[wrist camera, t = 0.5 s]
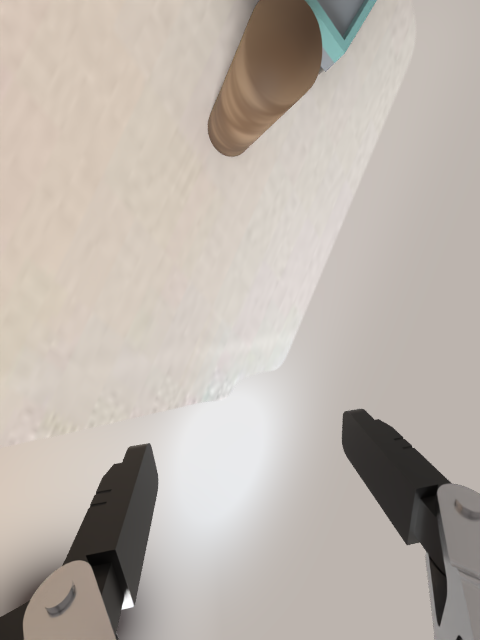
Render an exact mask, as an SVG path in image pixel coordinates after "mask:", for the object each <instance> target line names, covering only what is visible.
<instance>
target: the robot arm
mask: <svg viewBox="0 0 480 640" xmlns="http://www.w3.org/2000/svg"><path fill="white" fill-rule="evenodd" d="M342 426H343V427H342V445H343V449H344V452H345V454H346V456H347V458H348V459H349V461H350V462H351V463H352V465H353V467H354V468H355V469H356V471H357V473H358V474H359V475H360V477H361V478H362V480H363V481H364V483H365V484H366V486H367V487H368V489H369V490H370V492H371V493H372V494H373V496H374V497H375V499H376V500H377V502H378V503H379V505H380V506H381V508H382V509H383V511H384V512H385V514H386V515H387V517H388V518H389V519H390V521H391V522H392V524H393V525H394V527H395V528H396V530H397V531H398V533H399V534H400V536H401V537H402V539H403V540H404V542H405V543H406V544H407V545H410V544H415V543H419V542H420V543H421V544H422V546H423V547H424V549H425V550H426V555H425V556H426V557H425V558H426V567H427V576H428V585H429V593H430V602H431V611H432V619H433V628H434V640H480V494H479V493H477V492H476V491H474V490H472V489H469V488H467V487H465V486H462V485H458V484H452V483H451V482H449V481H448V480H447V479H446V478H445V477H444V476H443V475H442V474H441V473H440V472H439V471H438V470H437V469H436V468H435V467H434V466H432V465H431V463H429V462H428V461H427V460H426V459H425V458H424V457H423V456H422V455H421V454H420V453H419V452H418V451H417V450H416V449H415V448H412V445H411V444H410V443H408V442H407V441H406V440H405V439H403V437H402V436H401V435H400V434H399V433H398V432H397V431H396V430H395V429H394V428H393V427H391V426H389V425H388V424H386V423H384V422H382V421H381V420H379V419H378V420H374V419H373V418H372V417H371V416H370V415H369V414H368V413H367V412H366V411H365V410H364V409H357V410H351V411H345V412H344V413H343V425H342ZM157 491H158V473H157V469H156V465H155V460H154V456H153V451H152V447H151V445H150V444H149V443H148V444H142V445H136V446H130V447H129V448H128V450H127V452H126V454H125V457H124V459H123V462H122V463H118V464H114V465H113V466H112V467H111V468H110V470H109V471H108V472H107V473H106V474H105V475H104V476H103V478H102V480H101V482H100V484H99V487H98V489H97V491H96V495H95V496H94V498H93V500H92V502H91V504H90V508H89V509H88V511H87V513H86V515H85V518H84V520H83V522H82V524H81V526H80V529H79V531H78V533H77V535H76V537H75V540H74V542H73V544H72V546H71V548H70V551H69V553H68V555H67V558H66V560H65V561H64V563H63V565H62V567H60V568H59V569H57V570H56V571H54V572H53V573H52V574H51V575H50V576H49V577H48V578H47V579H46V580H45V581H44V582H43V583H42V584H41V585H40V587H39V588H38V589H37V591H36V592H35V593H34V595H33V597H32V598H31V600H30V601H28V602H27V603H25V604H23V605H22V606H20V607H18V608H16V609H14V610H13V611H11V612H9V613H7V614H6V615H4V616H2V617H0V640H119V638H118V635H117V633H116V631H117V627H118V622H119V617H120V614H121V610H122V609H126V608H130V607H134V606H135V601H136V596H137V591H138V586H139V581H140V576H141V571H142V566H143V561H144V556H145V551H146V546H147V541H148V536H149V531H150V526H151V521H152V516H153V511H154V506H155V501H156V496H157Z"/></svg>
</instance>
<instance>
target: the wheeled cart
mask: <svg viewBox="0 0 480 640" xmlns="http://www.w3.org/2000/svg"><path fill="white" fill-rule="evenodd" d="M305 1H306V2H307V3H308V5H309V6H310V7H311V9H312V11H313V12H314V14H315V16H316V18H317V21H318V24H319V27H320V31H321V37H322V61H321V66H320V70H319V73H318V74H320V73H321V72H322V71H323V70H324V71H325V72H326V71H327V70H328V69H329V68H330V67H331V66H332V65H333V64H334V63H335V62H336V61H337V60H338V59H339V58H340V57H341V56H342V55H343V54H344V53H345V52H346V50H347V49H348V47H349V45H350V44H351V42H352V40H353V39H354V37H355V35H356V34H357V32H358V30H359V29H360V27H361V26H362V24H363V22H364V21H365V19H366V17H367V16H368V14H369V12H370V11H371V9H372V7H373V6H374V4H375V2H376V1H377V0H305Z"/></svg>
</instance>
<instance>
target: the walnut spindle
mask: <svg viewBox="0 0 480 640" xmlns="http://www.w3.org/2000/svg"><path fill="white" fill-rule="evenodd" d="M321 61H322V37H321V31H320V27H319V24H318V21H317V18H316V16H315V14H314V12H313V11H312V9H311V7H310V6H309V5H308V3H307V2H306V1H305V0H260V1H259V2H258V3H257V5H256V7H255V8H254V10H253V12H252V15H251V17H250V19H249V22H248V24H247V27H246V29H245V32H244V34H243V36H242V39H241V41H240V44H239V46H238V49H237V51H236V53H235V56H234V58H233V61H232V63H231V66H230V68H229V70H228V73H227V75H226V78H225V80H224V83H223V85H222V87H221V90H220V92H219V95H218V97H217V100H216V102H215V104H214V107H213V109H212V112H211V114H210V117H209V120H208V134H209V137H210V140H211V142H212V144H213V146H214V147H215V148H216V149H217V150H218V151H219V152H220V153H221V154H223V155H225V156H229V157H234V156H238V155H240V154H242V153H243V152H244V151H245V150H246V149H247V148H248V147H249V146H250V145H251V144H253V143H254V142H255V141H256V140H257V139H258V138H259V137H260V136H261V135H262V134H263V133H264V132H265V131H266V130H267V129H268V128H269V127H270V126H272V125H273V124H274V123H275V122H276V121H277V120H278V119H279V118H280V117H281V116H282V115H283V114H284V113H285V112H286V111H287V110H288V109H290V108H291V107H292V106H293V105H294V104H295V103H296V102H297V101H298V100H299V99H300V98H301V97H302V96H303V95H304V94H305V93H306V92H307V91H308V90H309V89H310V88H311V87H312V85H313V84H314V82H315V80H316V78H317V76H318V73H319V70H320V66H321Z"/></svg>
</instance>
